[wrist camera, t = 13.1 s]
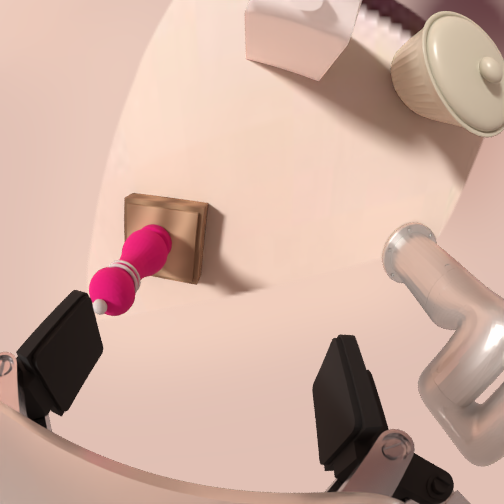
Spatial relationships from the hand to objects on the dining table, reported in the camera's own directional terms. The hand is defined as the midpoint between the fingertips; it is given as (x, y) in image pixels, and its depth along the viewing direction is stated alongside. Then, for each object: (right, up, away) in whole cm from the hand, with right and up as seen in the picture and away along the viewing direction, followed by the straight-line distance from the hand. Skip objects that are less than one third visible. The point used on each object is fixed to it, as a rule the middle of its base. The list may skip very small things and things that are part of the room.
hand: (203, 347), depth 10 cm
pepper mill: (-14, +5, +35) cm, 38 cm away
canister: (+31, +33, +25) cm, 52 cm away
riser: (-14, +7, +39) cm, 41 cm away
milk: (+8, +37, +24) cm, 45 cm away
